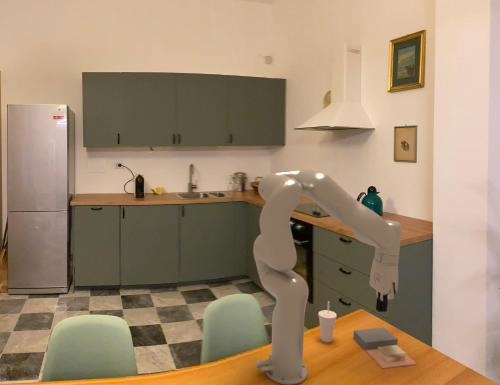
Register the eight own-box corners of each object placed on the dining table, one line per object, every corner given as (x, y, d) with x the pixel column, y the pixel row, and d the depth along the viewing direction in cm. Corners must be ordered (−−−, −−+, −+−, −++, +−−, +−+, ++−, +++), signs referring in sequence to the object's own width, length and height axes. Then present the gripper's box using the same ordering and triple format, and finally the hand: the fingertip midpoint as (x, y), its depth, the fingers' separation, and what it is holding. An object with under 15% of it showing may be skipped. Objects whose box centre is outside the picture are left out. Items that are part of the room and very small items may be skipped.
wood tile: (377, 347, 129) (377, 354, 129) (386, 355, 124) (385, 362, 125) (396, 344, 131) (396, 351, 131) (405, 352, 126) (405, 360, 126)
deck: (365, 350, 132) (365, 342, 132) (353, 338, 140) (353, 330, 140) (397, 347, 135) (397, 339, 134) (383, 335, 143) (384, 327, 142)
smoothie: (338, 338, 140) (340, 301, 138) (331, 346, 134) (333, 307, 133) (321, 333, 143) (322, 297, 141) (314, 340, 138) (315, 303, 136)
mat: (382, 368, 122) (382, 367, 122) (365, 350, 132) (365, 349, 132) (416, 364, 124) (416, 363, 124) (397, 347, 135) (397, 346, 135)
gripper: (364, 251, 136) (360, 302, 138) (389, 265, 121) (383, 321, 123) (384, 251, 137) (379, 301, 140) (410, 264, 123) (404, 320, 125)
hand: (381, 310), depth 131 cm, fingers closed
